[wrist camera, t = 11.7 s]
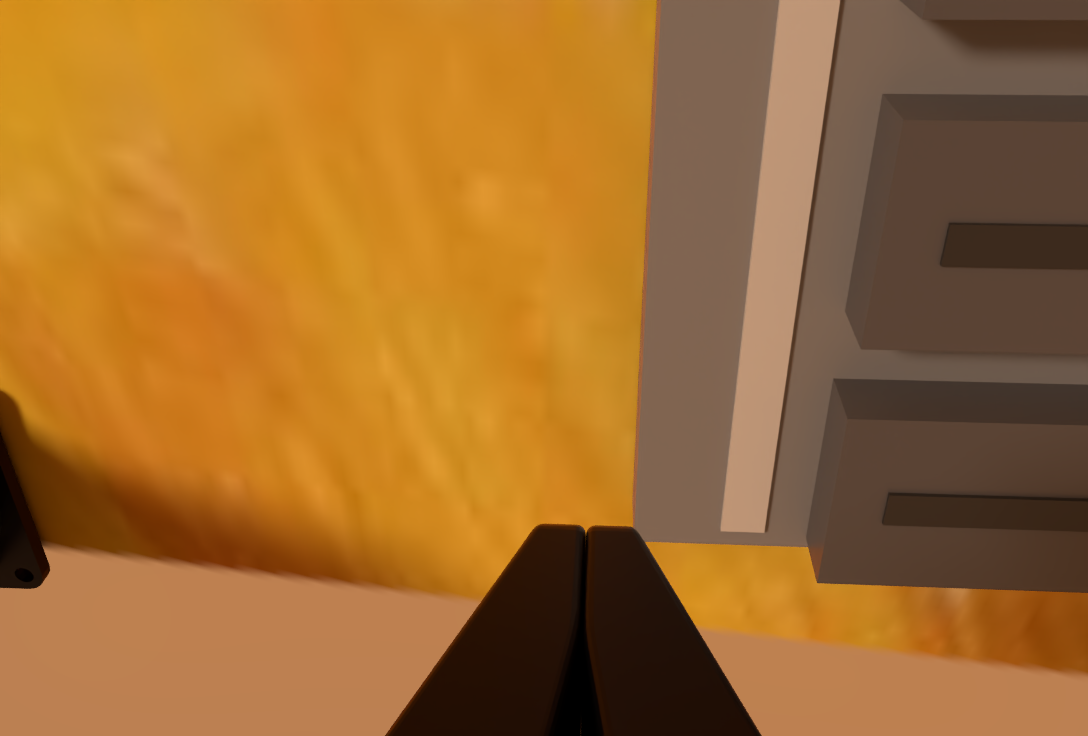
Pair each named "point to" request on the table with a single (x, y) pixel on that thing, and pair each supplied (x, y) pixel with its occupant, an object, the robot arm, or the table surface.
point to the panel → (717, 226)
